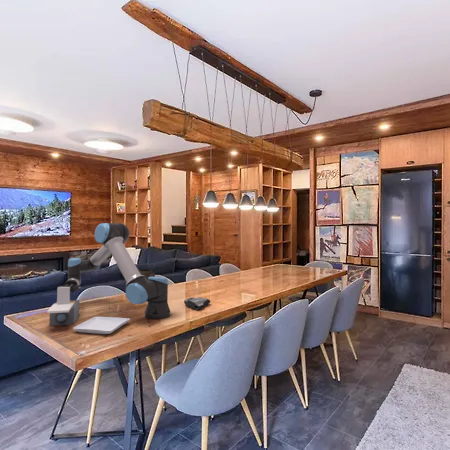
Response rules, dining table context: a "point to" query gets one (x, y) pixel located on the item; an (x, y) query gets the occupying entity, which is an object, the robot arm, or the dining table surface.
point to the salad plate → (101, 325)
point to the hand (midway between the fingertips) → (63, 293)
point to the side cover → (62, 301)
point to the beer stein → (147, 273)
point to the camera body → (65, 315)
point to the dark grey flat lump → (196, 302)
